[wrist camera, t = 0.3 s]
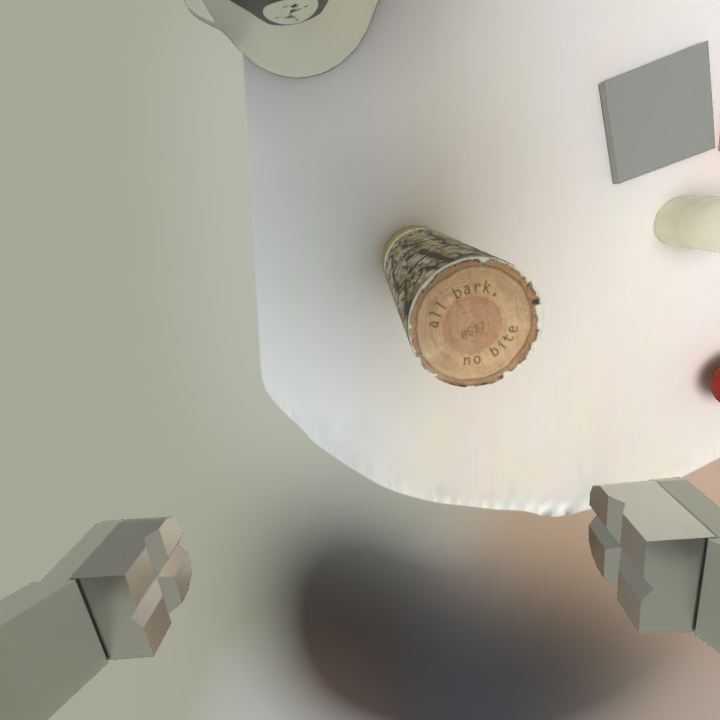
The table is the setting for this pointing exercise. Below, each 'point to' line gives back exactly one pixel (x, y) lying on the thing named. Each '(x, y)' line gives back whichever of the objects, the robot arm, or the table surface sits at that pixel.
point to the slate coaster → (659, 113)
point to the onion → (716, 384)
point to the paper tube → (461, 307)
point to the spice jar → (690, 223)
